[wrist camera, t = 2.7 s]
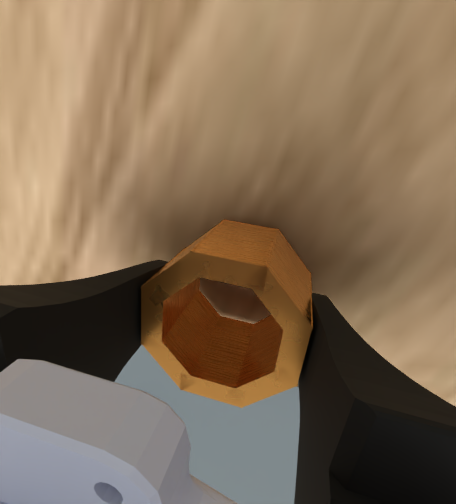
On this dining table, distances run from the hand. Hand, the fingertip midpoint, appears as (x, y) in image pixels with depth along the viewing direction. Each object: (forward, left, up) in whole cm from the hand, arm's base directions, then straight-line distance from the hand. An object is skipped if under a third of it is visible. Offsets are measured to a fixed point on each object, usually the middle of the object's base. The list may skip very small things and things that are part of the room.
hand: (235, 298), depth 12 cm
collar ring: (0, 0, -1) cm, 1 cm away
